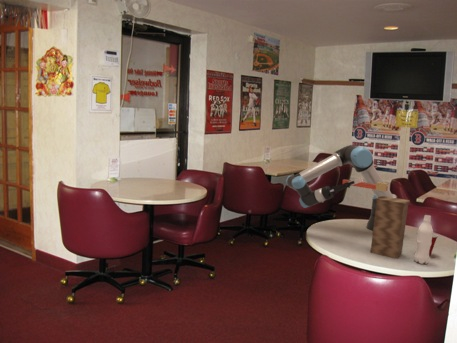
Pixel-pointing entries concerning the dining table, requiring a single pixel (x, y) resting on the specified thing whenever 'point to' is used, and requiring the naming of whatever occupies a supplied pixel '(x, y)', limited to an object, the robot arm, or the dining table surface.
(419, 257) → the water bottle
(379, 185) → the lever
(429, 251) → the plastic cup
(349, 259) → the dining table surface
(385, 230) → the stand
